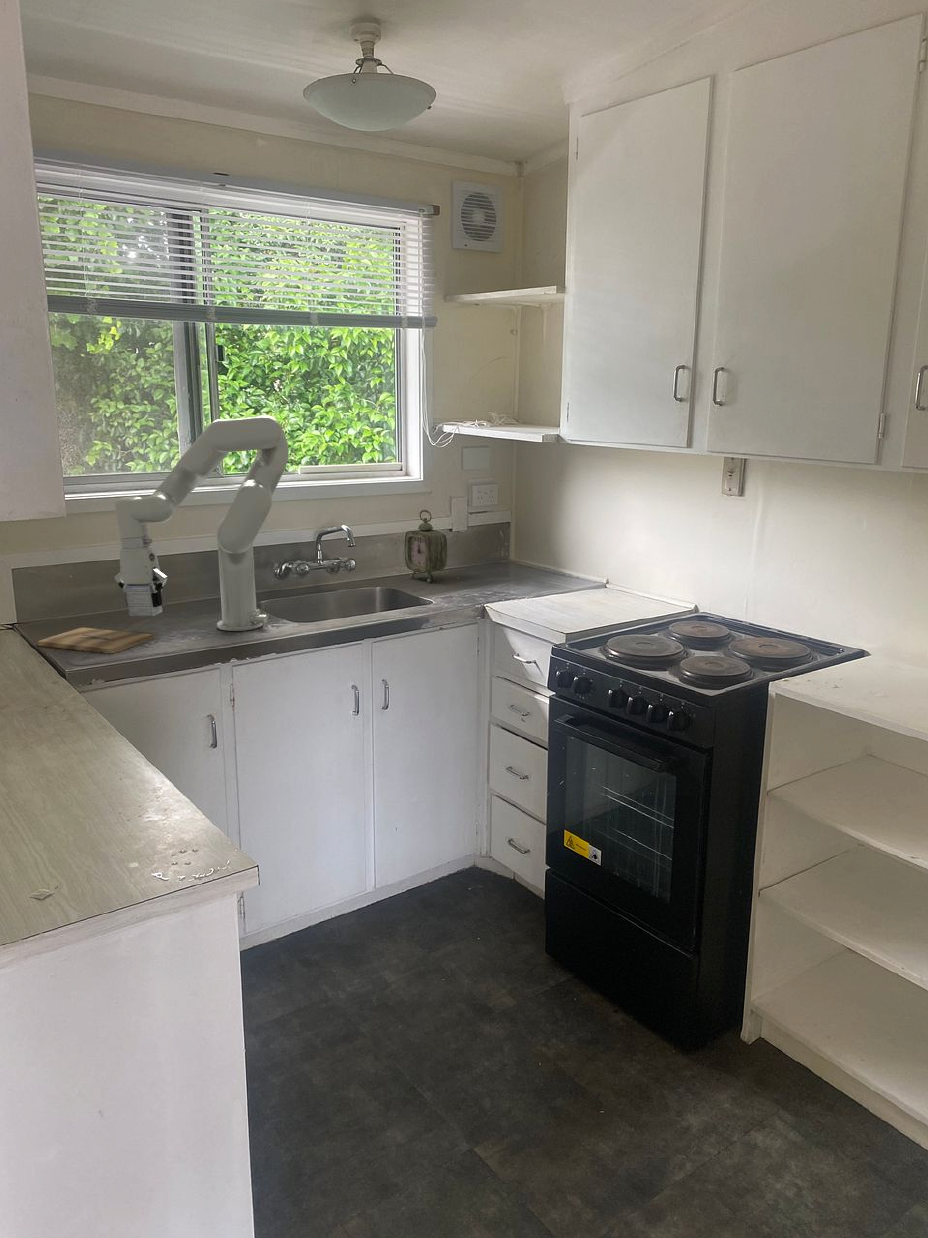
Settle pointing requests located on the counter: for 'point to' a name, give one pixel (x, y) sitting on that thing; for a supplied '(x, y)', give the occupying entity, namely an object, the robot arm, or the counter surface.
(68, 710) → the counter surface
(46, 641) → the light brown wooden board
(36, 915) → the counter surface
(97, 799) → the counter surface
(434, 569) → the tabletop clock
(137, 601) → the medicine box
